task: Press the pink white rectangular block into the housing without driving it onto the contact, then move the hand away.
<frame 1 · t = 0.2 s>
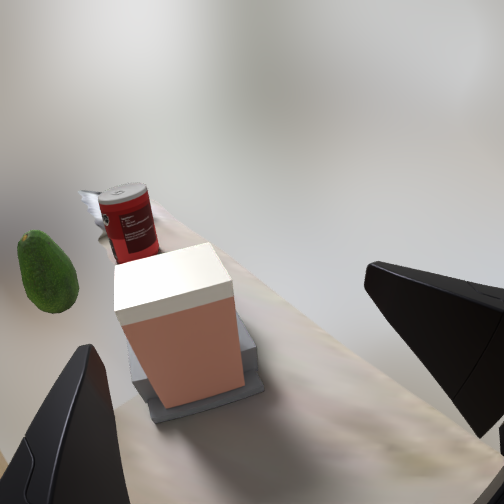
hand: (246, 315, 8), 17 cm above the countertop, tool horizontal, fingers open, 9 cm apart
pink white rectangular block: (183, 333, 20), point 7 cm above the countertop, slide at 0.0 cm
canned food: (137, 255, 44), on the countertop
housing: (200, 383, 24), on the countertop
avocado: (64, 309, 33), on the countertop
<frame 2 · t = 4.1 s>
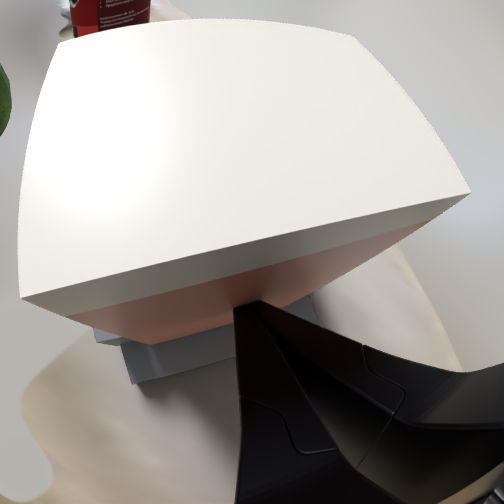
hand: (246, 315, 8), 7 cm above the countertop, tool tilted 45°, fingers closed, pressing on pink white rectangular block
pink white rectangular block: (219, 229, 9), point 7 cm above the countertop, slide at 1.1 cm, touching gripper
canned food: (112, 49, 21), on the countertop
housing: (210, 303, 15), on the countertop
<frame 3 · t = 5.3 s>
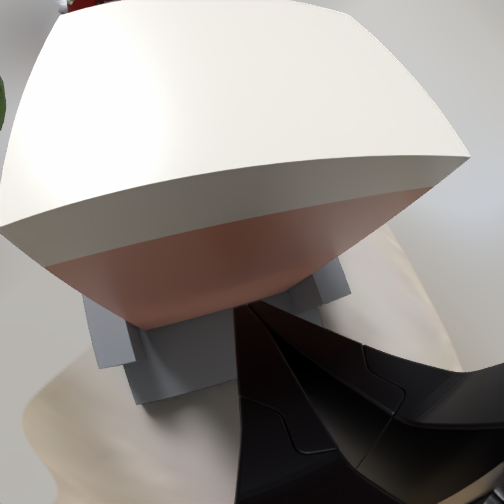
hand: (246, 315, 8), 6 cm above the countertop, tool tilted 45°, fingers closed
pink white rectangular block: (214, 205, 9), point 7 cm above the countertop, slide at 2.8 cm
canned food: (111, 47, 20), on the countertop
housing: (216, 320, 14), on the countertop
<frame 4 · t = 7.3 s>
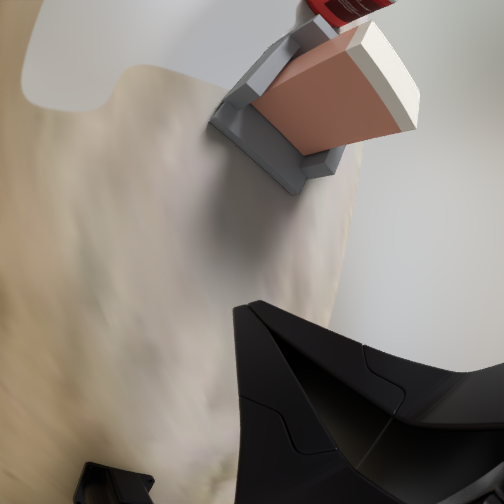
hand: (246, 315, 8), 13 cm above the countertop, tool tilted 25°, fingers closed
pink white rectangular block: (335, 92, 19), point 7 cm above the countertop, slide at 2.8 cm
canned food: (321, 9, 29), on the countertop
housing: (268, 135, 24), on the countertop
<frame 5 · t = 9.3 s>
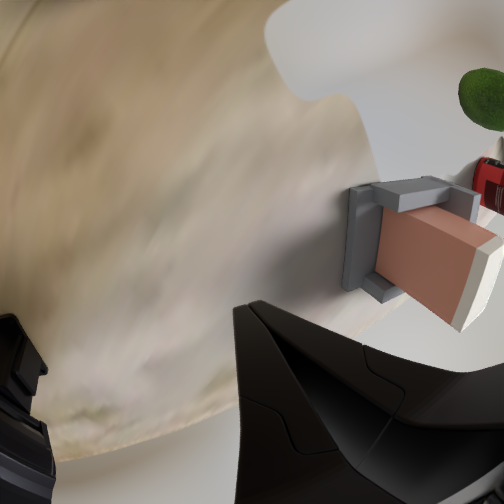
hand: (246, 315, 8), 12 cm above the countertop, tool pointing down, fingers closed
pink white rectangular block: (438, 257, 21), point 7 cm above the countertop, slide at 2.8 cm
canned food: (480, 179, 33), on the countertop
housing: (369, 235, 26), on the countertop
avocado: (458, 94, 24), on the countertop
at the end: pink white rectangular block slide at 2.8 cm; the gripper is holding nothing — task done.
